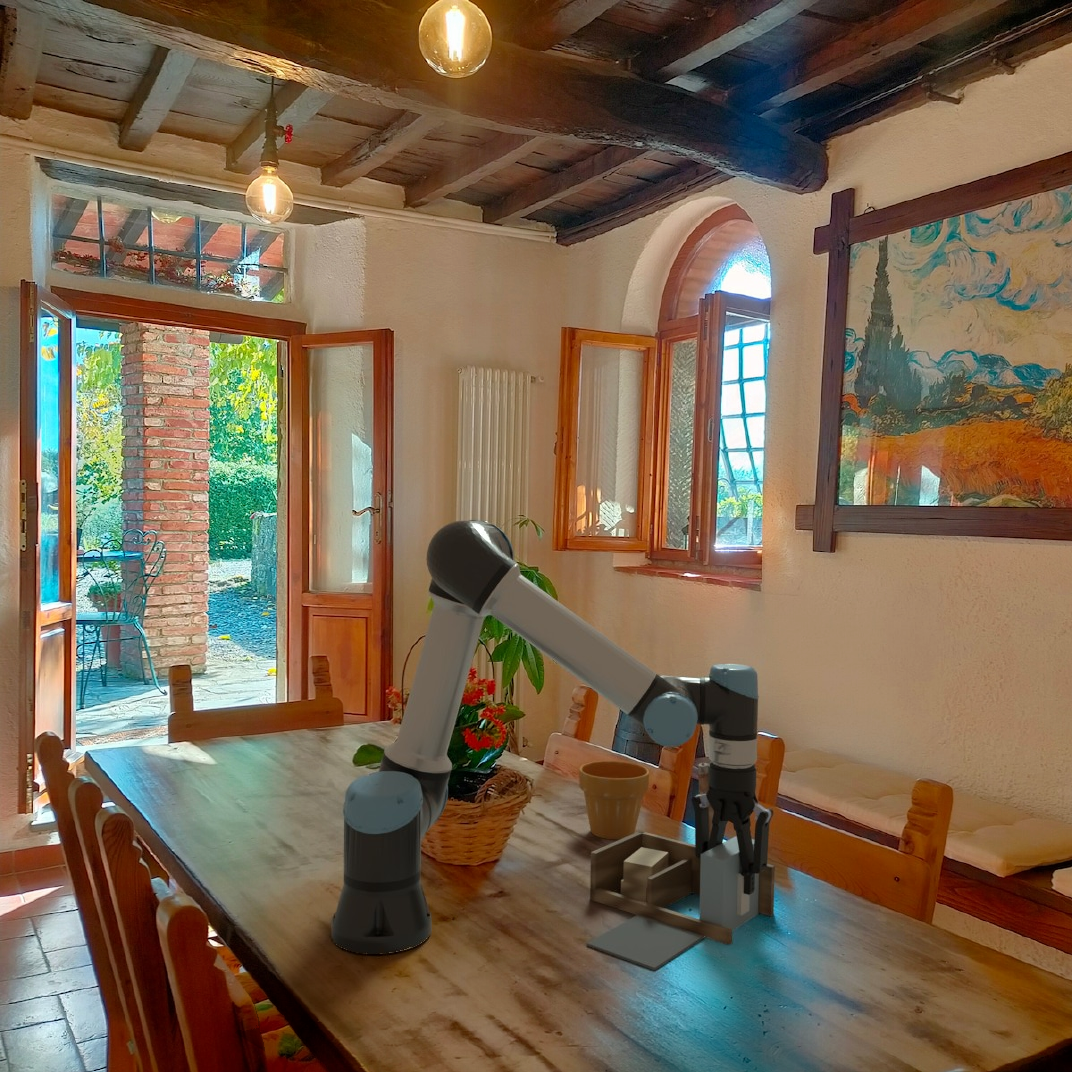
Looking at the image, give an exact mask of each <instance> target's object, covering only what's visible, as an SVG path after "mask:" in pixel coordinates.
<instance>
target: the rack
mask: <svg viewBox="0 0 1072 1072" xmlns="http://www.w3.org/2000/svg"><path fill="white" fill-rule="evenodd" d="M641 847H643V848H648V849H653V850H659V851H664V852H669V855H668V868H666V869H664V870H662V871H661V872H659V873H657V874H655V875H653V876H651V877H649V878H647V903H646V902H643V901H640V900H637V899H633V898H630V897H627V896H624V895H621V893H618V892H616V891H619V890H621V880H623V873H624V861H625V860H626V859H627V858H628V857H630V856H631V855H632V854H634V853H635V852H636V851H637V850H639V849H640V848H641ZM700 866H701V858H697V857H696V854H695V844H693V843H688V842H685V841H681V840H677V839H673V838H669V837H666V836H662V835H659V834H654V833H650V832H646V831H643V830H639V831H637V832H636V831H635V832H634V834H632V835H629V836H627V837H625V838H623V839H617V840H616V841H613V842H610V843H609V844H606V845H605V846H602V847H600V848H597V849H595V850H593V851H591V852H590V879H589V882H590V883H589V886H590V887H589V888H590V889H589V897H590V898H589V899H590V901H593V902H597V903H600V904H603V905H606V906H609V907H611V908H615V909H618V910H621V911H624V912H627V913H630V914H633V915H635V916H636V915H638V914H639V915H642V916H645V917H648V918H651V919H654V920H657V921H660V922H663V923H666V924H669V925H672V926H676V927H679V928H682V929H685V930H688V931H691V932H694V933H697V934H700V935H703V936H704V938H706V939H710V940H714V941H715V942H718V943H722V944H725V945H728V946H730V945H732V944H733V932H734V931H733V930H732V929H729V928H725V927H722V926H719V925H716V924H713V923H710V922H706V921H703V920H700V919H699V918H697V917H694V916H690V915H687V914H683V913H681V912H678V911H675V910H670V909H668V907H670V906H672V905H674V904H675V903H677V902H679V901H680V900H682V899H684V898H686V897H687V896H689V895H691V894H695V895H698V896H700ZM775 868H776V867H775V865H773V864H770V863H767V868H766V869H765V870H763V871H762V872H760V873H759V895H758V914H762V915H764V916H768V917H772V916H773V915H774V913H775V908H774V907H775Z"/></svg>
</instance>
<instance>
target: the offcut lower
mask: <svg viewBox="0 0 1072 1072" xmlns="http://www.w3.org/2000/svg"><path fill="white" fill-rule="evenodd" d="M620 894H621V895H624V896H627V897H630V898H633V899H637V900H640V901H643V902H646V903H647V887H645V886H640V885H635V884H630V883H626V882H623V880H621V888H620Z"/></svg>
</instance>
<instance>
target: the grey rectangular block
mask: <svg viewBox="0 0 1072 1072" xmlns="http://www.w3.org/2000/svg"><path fill="white" fill-rule="evenodd" d="M752 844H753V850H754V839H753V838H752ZM741 871H742V866H741V860H740V853H739V847H738V841H737V835H735V836H734V837H731V838H729V839H728V840H726V841H723V843H722V844H720V845H718V846H716V847H714V848H712V849H710V850H708V851H706V852H704V853H702V854H701V866H700V895H699V918H698V919H700V920H703V921H706V922H710V923H713V924H716V925H719V926H722V927H725V928H729V929H732V930H733V932H734V931H735V930H737V929H738V928H740V927H741V926H742V925H744V924H745V923H747V922H749V921H750V920H751V919H753V918H755V917H756V916H757V915H758V914H759V913H758V895H759V873H758V874H756V873H755V890H754V892H753V893H752V894H750V898H749V911H748V912H747V913H745V914H744V915H742V916H739V915H737V885H738V873H740V872H741Z"/></svg>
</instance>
